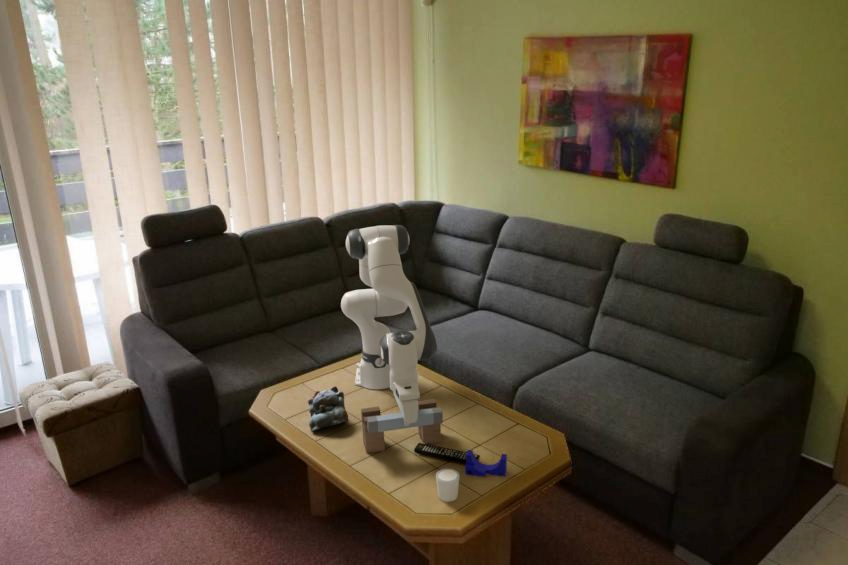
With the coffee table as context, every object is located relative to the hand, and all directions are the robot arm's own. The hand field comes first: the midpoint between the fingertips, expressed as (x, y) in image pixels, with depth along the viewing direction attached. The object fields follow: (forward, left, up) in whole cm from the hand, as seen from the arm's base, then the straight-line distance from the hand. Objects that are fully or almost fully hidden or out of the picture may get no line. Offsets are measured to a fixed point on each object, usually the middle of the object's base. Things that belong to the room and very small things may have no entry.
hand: (405, 421), depth 207 cm
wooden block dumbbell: (-7, 0, -11) cm, 13 cm away
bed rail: (0, 0, -2) cm, 2 cm away
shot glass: (+25, +7, -12) cm, 29 cm away
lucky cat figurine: (-25, -23, -12) cm, 36 cm away
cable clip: (+17, +21, -12) cm, 30 cm away
